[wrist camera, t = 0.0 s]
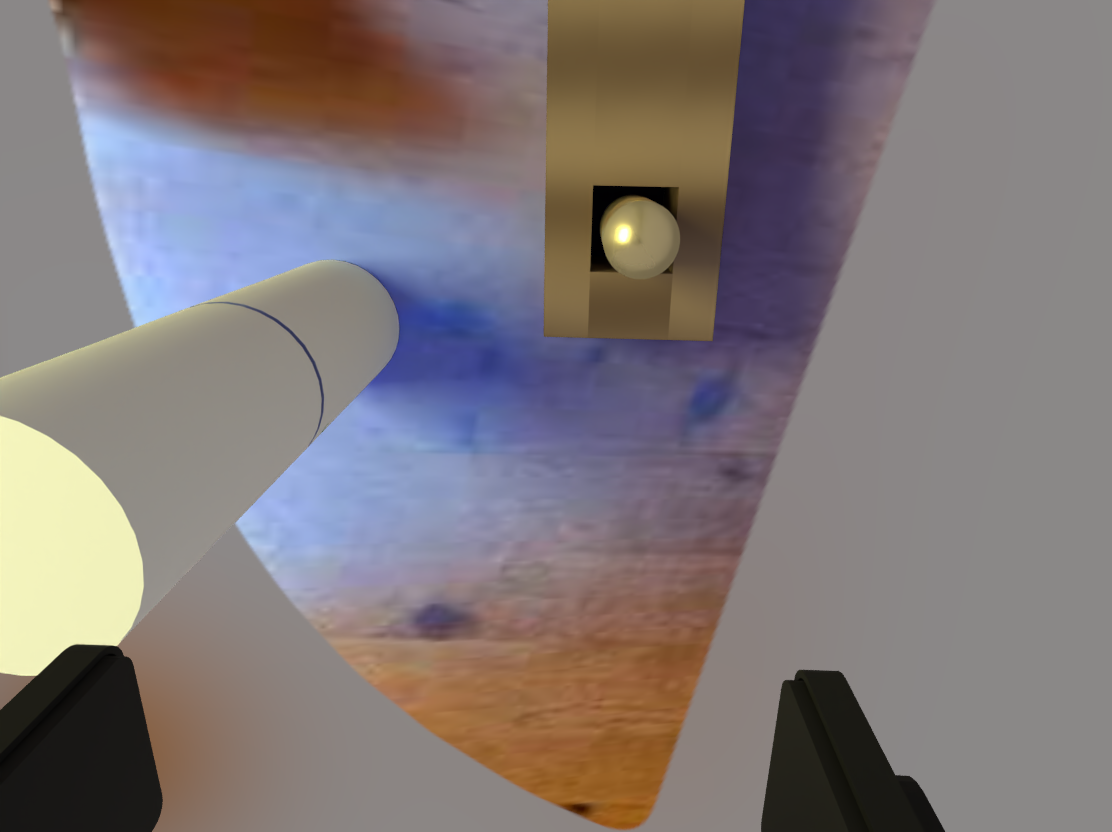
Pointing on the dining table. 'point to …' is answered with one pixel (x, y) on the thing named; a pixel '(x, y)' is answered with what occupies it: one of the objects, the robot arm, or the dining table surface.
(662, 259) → the outer brass pin
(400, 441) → the dining table surface
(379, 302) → the cylindrical container
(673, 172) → the tan peg holder block
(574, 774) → the dining table surface
